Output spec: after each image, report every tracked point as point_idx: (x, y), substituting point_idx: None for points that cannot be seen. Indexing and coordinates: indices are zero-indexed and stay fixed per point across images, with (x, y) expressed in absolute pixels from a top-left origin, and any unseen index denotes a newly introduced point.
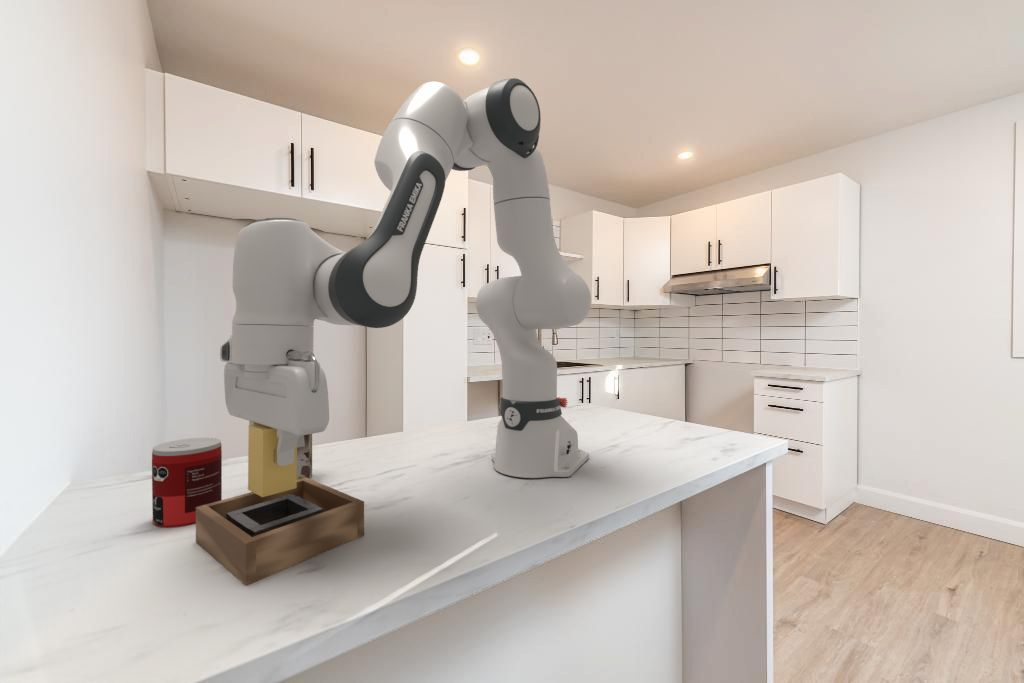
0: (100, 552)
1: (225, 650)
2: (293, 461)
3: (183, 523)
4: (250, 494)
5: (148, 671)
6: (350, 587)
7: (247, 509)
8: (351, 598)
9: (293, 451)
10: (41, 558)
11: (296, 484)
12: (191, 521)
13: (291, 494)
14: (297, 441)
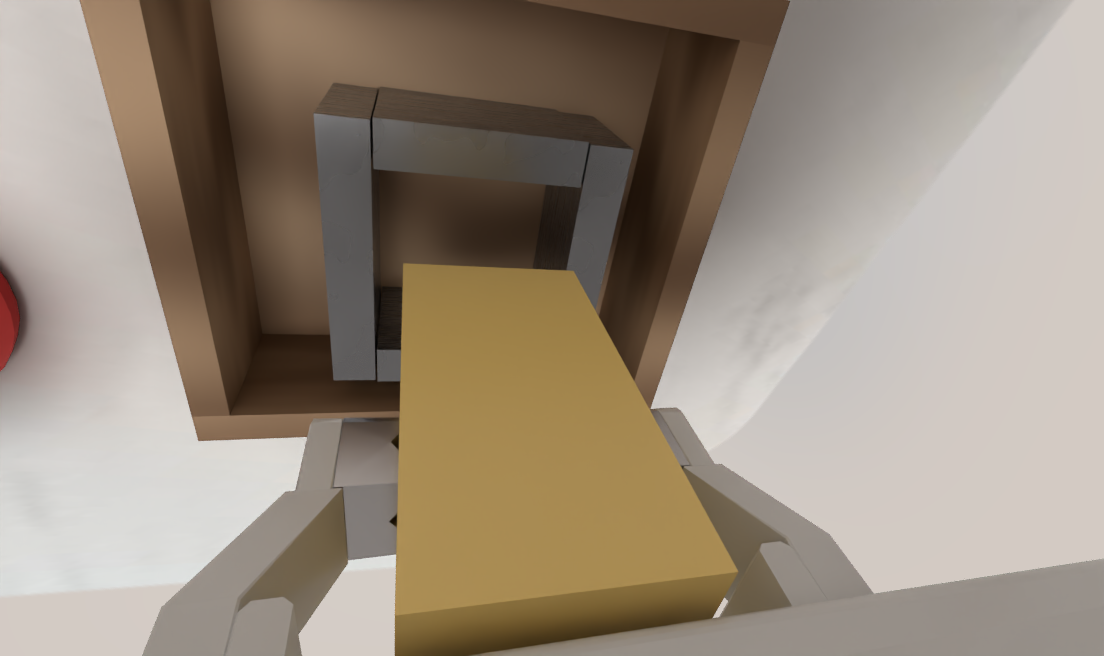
0: (66, 490)
1: (719, 414)
2: (676, 408)
3: (11, 350)
4: (190, 270)
5: None
6: (813, 215)
7: (361, 326)
8: (837, 238)
9: (707, 455)
10: (2, 563)
11: (578, 280)
12: (10, 331)
13: (320, 120)
14: (781, 504)
